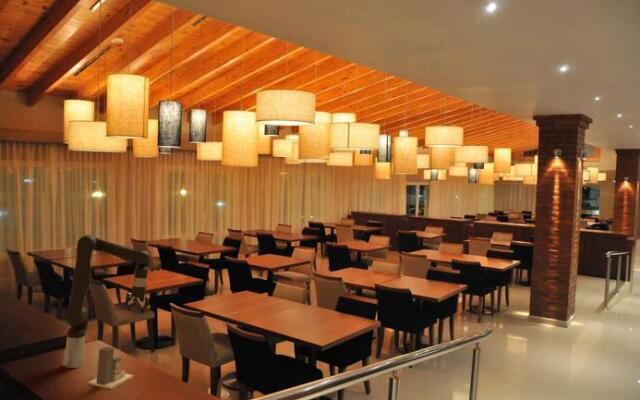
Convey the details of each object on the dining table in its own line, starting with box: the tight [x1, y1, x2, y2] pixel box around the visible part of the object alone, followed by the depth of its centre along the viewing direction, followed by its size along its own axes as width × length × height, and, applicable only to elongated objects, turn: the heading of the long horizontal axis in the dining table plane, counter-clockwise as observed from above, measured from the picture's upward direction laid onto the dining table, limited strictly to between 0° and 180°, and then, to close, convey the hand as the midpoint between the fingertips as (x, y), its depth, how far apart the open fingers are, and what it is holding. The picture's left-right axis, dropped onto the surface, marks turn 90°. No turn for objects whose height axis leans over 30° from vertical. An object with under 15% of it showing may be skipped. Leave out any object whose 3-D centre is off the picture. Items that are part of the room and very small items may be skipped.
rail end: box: [112, 356, 122, 376], centre depth 263 cm, size 4×4×10 cm
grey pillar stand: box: [88, 346, 134, 390], centre depth 261 cm, size 14×18×19 cm
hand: (135, 312), depth 283 cm, fingers open, 8 cm apart
